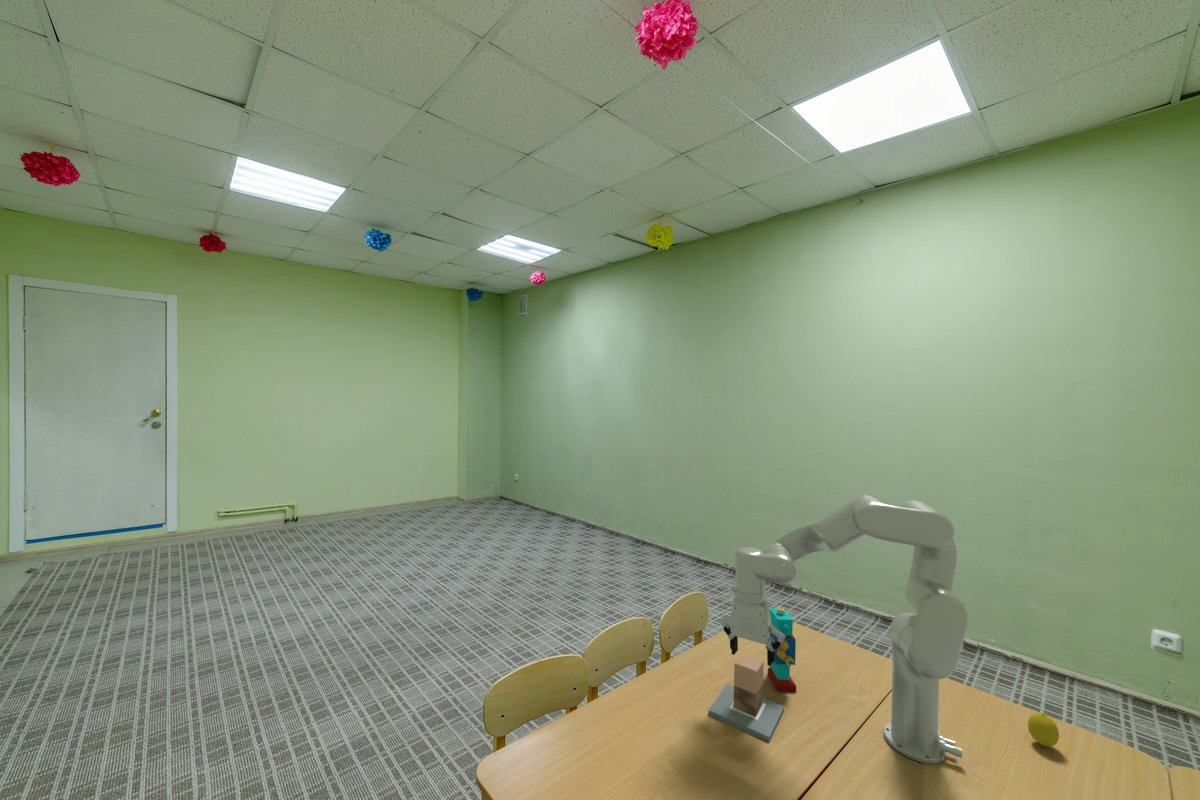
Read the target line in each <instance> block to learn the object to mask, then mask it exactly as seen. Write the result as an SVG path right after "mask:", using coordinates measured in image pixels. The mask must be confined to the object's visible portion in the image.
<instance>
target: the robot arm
mask: <svg viewBox="0 0 1200 800" xmlns="http://www.w3.org/2000/svg"><path fill="white" fill-rule="evenodd" d="M954 535H955V528H954V524H953V523H952V522H951V520H950V518H948V517H947V516H946V515H945V514H944V513H942V512H940V511H938V510H937V509H935V508H933V507H932V506H931V505H928V504H926V503H924V502H923V501H919V500H915V499H913V500H912V499H911V500H906V501H904V502H902V503H901V504H900V505H899V506H896V505H891V504H887V503H884V502H882V500H880V499H878V498H876V497H874V496H872V495H868V494H862V495H859V496H856V497H854V498H852V499H850V500H849V501H847V502H846V503H844V504H843V505H841V506H840V507H837V508H836V509H834V510H832V511H831V512H829V513H828V514H826V515H825V516H823V517H821V518H820V519H817V520H816V521H814V522H812V523H809V524H807V525H804V526H801V527H798V528H795V529H792V530H790V531H789V532H787V533H785V534H784V535H782V536H780V537H779V538H777V539H776V540H774V541H773V542H771V543H770V544H769V545H768V546H767V547H766V548H765V550H764V552H763V551H762V550H761V549H759V548H756V547H752V546H750V547H749V546H743V547H739V548H738V549H737V550H736V551H735V554H734V557H735V558H734V559H735V561H734V563H735V586H731V587H730V591H731V592H732V593H734V594H735V596H733V599H732V603H731V611H730V615H729V616H728V615H727V616H724V617H721V618H720V624H721V626H722V629H723V631H724V633H725V634H726V635H727V637H728V639H729V649H730V650H731V655H733V656H734V655H736V654H737V652H738V650H739V642H738V641H739V640H738V639H739V638H741V639H744V640H747V641H751V642H755V643H758V644H763V645H765V647H766V646H767V647H768V650H767V649H766V651H767V652H766V654H767V655H766V658H767V659H766V660H767V661H766V663H767V666H768V667H770V666H771V664H772V663H773V662H775V649H777V648H778V647H780V645H781V644H782V642H783V640H784V639H785V635H784V634H783V633H782V632H780V631H779V630H778V629H776V628H775V627H774V626H772V623H771V615H770V610H769V609H770V605H769V602H768V601H767V600H766V581H767V582H772V583H775V584H781V585H782V584H783V585H784V584H789V583H792V582H793V581H795V578H796V576H797V566H796V563H795V562H797V561H798V560H800V559H801V558H804V557H806V556H808V555H810V554H812V553H813V554H814V553H817V552H828V553H836V552H839V551H841V550H842V549H844V548H846V547H848V546H849V545H851V544H853V543H854V542H856V541H858V540H859V539H861V538H863V537H865V536H868V537H870V538H873V539H877V540H881V541H886V542H892V543H895V544H896V543H897V544H902V545H908V546H909V545H910V546H913V555H912V560H911V561H912V562H911V565H910V569H909V573H908V577H907V581H906V584H905V588H904V596H905V597H904V598H905V599H906V602H907V603H908V605H909V606H910V607H911V609H912V610H913V611H914V612H902V613H900V614H897V615H896V617H895V618H894V619H893V620H892V622H891V625H890V630H889V631H890V635H889V636H890V643H891V655H892V674H891V715H890V717H891V718H890V719H891V721H890V722H888V723H886V724H885V725H884V727H883V737H884V738H885V740H886V741H887V743H888V744H889V745H890V746H891V747H892V748H893V749H895V751H897V752H898V753H900V754H901V755H903V756H905V757H907V758H909V759H911V760H913V761H917V762H920V763H924V764H929V765H930V764H931V765H932V764H940V763H941V762H944V761H945V759H946V755H947V754H951V755H952V756H955V757H957V758H960V759H963V749H962V748H961V747H958V746H956V741H955V740H953V739H950V738H946V737H943V735H941V734H940V728H939V709H940V708H939V706H940V704H939V702H940V701H939V700H940V680H942V679H946V678H948V677H949V676H950V675H952V673H954V671H955V670H956V667H957V666H958V663H959V660H960V658H961V657H960V656H961V653H962V649H963V646H964V642H965V641H964V640H965V637H966V633H967V630H968V622H969V617H968V612H967V607H966V605H965V604H964V603H963V601H962V599H961V598H960V597H959V596H958V595H957V594H956V593H955V592H954V591H953V586H954V585H953V584H954V579H955V573H956V567H957V562H958V551H957V547H956V543H955V539H954ZM729 623H730V625H728V624H729ZM772 633H773V634H774V635H775V636H776V637H777V638H778V640H776V641H775V642H774V640H773V639H772V638H771V636H772ZM946 753H947V754H946Z"/></svg>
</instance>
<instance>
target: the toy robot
mask: <svg viewBox="0 0 1200 800" xmlns="http://www.w3.org/2000/svg"><path fill="white" fill-rule="evenodd" d="M780 602H781V604H782V605H781V604H780ZM778 604H779V606H778V607H777V608H770V607H769V610H770V615H771V623H772V626H774V627H775V628H776V629H778V630H779V631H780V632H782V633H783V634H784V635H785V639H784V640H783V642H782V644H781V645H780V647H778V648H777V649H775V662H773V663H772V664H771V666H768V668H767V676H768V677H769V679H770V681H771V682H772V684H773V686H774V687H775V689H776V691H777V692H788V693H789V692H790V693H792V692H793V693H794V692H795V693H796V692H797V685H796V683H795V682H794V680H793V679H792V677H791V675H790V670H791V667H792V666H795V665H796V647H797V646H796V640H797V639H796V638H795V636H794V635H793V629H794V628H793V626H794V620H793V618H792V617H791V616H790V614H789V613H788V612H787V611H786V609H785V608H784V605H783V601H782V599H780V600H779V601H778ZM781 606H782V607H781ZM771 638H772V639H773V640H774V642H775V641H776V640H778V638H777V637H776V636H775V635H774V634H773V633H772V636H771ZM765 648H766V651H767V650H768V647H767V646H766V645H765Z"/></svg>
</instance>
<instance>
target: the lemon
mask: <svg viewBox="0 0 1200 800" xmlns="http://www.w3.org/2000/svg"><path fill="white" fill-rule="evenodd" d="M1027 728H1028V732H1029V734H1030V736H1031V738H1033V740H1034V741H1036V742H1037V743H1039V744H1040V746H1041V747H1054V746H1055V745H1056V744H1057V743H1058V742H1059V739H1060V732H1059V728H1058V725H1057V723H1055V721H1054V720H1053V719H1052V718H1051V717H1050V716H1048V715H1046V713H1043V712H1041V713H1039V712H1035V713H1032V714H1030V716H1029V718H1028V721H1027Z"/></svg>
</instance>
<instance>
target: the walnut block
mask: <svg viewBox="0 0 1200 800" xmlns="http://www.w3.org/2000/svg"><path fill="white" fill-rule="evenodd" d="M733 686H734V685H733ZM763 688H764V683H763V684H762V686H761V688H760V689H759V691H758V693H757V694H754V693H751V692H749V691H746V690H744V689H741V688H739V687H736V686H734V707H733V708H736V709H738V710H740V711H743V712H745V713H748V714H750V715H752V716H755V717H756V716H757V714H758V712H759V710H760V708H761V706H762V704H763V698H764V697H763V695H764V691H763Z"/></svg>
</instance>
